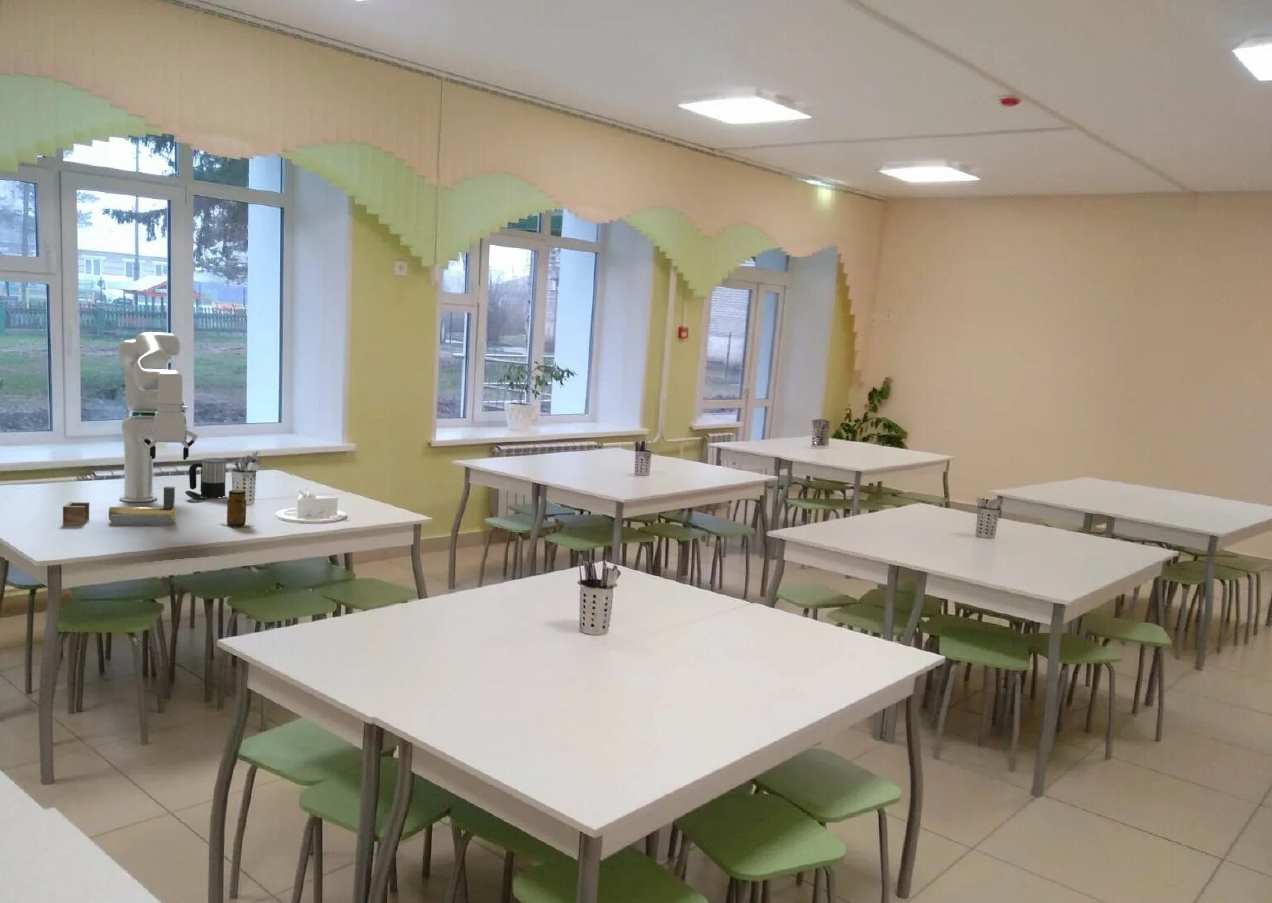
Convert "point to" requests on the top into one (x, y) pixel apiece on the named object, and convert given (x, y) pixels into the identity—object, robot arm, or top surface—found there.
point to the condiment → (236, 509)
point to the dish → (312, 509)
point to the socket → (75, 513)
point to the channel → (141, 519)
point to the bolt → (166, 510)
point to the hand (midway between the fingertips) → (169, 458)
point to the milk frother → (208, 478)
